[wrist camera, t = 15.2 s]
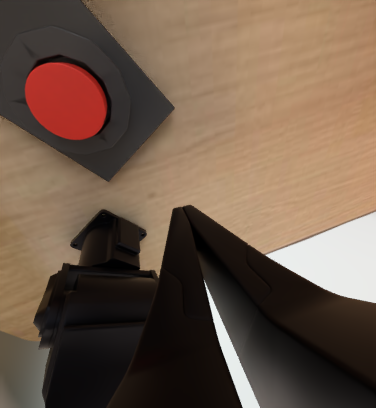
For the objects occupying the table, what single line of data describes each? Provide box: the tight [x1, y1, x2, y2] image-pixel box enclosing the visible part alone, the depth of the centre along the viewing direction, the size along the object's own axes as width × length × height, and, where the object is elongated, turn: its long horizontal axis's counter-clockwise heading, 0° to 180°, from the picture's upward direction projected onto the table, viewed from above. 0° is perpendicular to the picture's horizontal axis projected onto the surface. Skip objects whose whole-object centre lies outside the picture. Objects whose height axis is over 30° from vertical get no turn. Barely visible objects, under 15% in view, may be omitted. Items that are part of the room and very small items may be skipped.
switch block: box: [0, 0, 174, 182], centre depth 13 cm, size 9×11×4 cm
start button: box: [25, 62, 107, 140], centre depth 12 cm, size 4×4×2 cm
